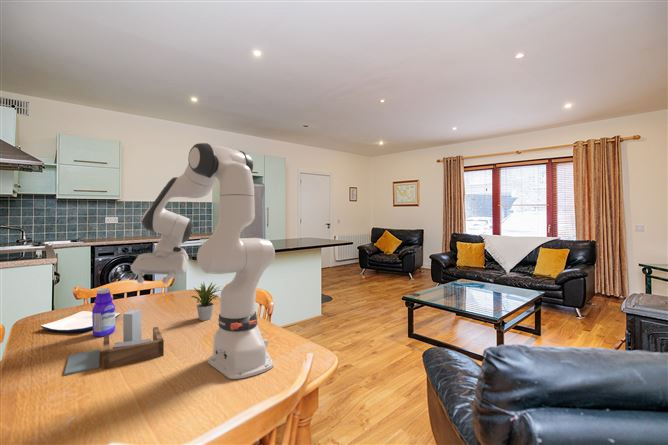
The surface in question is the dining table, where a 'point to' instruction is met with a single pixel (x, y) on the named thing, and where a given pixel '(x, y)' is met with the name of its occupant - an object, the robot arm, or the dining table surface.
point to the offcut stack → (130, 343)
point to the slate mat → (82, 362)
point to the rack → (133, 351)
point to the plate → (73, 323)
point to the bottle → (103, 313)
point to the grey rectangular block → (132, 325)
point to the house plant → (205, 301)
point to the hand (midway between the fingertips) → (152, 282)
